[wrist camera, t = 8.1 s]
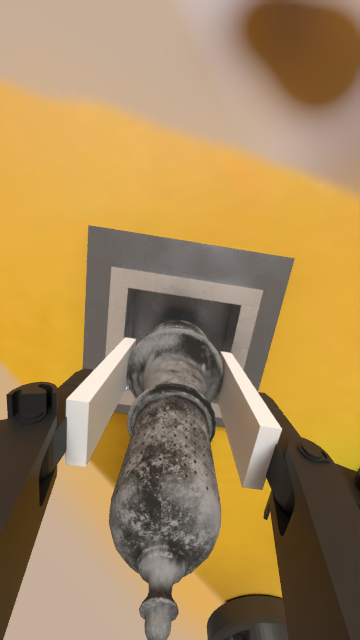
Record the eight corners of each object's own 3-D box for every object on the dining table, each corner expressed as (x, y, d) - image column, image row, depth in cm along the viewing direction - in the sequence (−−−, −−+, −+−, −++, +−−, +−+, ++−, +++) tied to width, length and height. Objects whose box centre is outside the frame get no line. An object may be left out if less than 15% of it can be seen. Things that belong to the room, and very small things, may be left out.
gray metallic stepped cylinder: (142, 386, 15) (10, 743, 4) (136, 316, 14) (-101, 518, 2) (213, 385, 15) (320, 748, 3) (214, 315, 14) (392, 514, 2)
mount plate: (244, 423, 21) (256, 451, 18) (86, 401, 21) (66, 425, 17) (288, 259, 17) (314, 254, 14) (93, 228, 17) (71, 215, 13)
